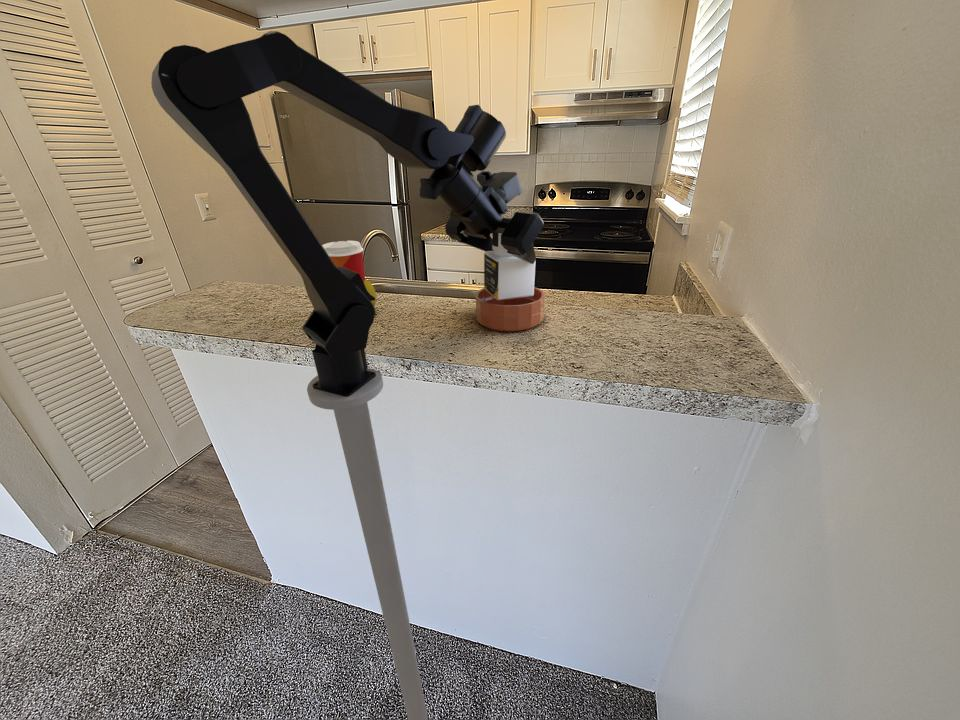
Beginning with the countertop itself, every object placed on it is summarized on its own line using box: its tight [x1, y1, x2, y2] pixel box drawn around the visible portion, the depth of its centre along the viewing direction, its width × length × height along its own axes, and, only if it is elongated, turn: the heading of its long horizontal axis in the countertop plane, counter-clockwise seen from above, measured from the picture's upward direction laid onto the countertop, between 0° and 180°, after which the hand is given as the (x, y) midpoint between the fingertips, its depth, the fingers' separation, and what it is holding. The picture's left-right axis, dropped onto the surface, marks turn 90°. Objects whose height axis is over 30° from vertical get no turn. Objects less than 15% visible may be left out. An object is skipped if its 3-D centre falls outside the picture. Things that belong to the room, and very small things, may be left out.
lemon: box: [364, 278, 377, 308], centre depth 79 cm, size 6×6×8 cm
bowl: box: [475, 286, 546, 332], centre depth 76 cm, size 13×13×5 cm
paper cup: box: [321, 240, 366, 282], centre depth 77 cm, size 8×8×14 cm
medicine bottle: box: [483, 232, 537, 300], centre depth 71 cm, size 7×7×12 cm
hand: (515, 257), depth 72 cm, fingers closed on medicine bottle, 9 cm apart
